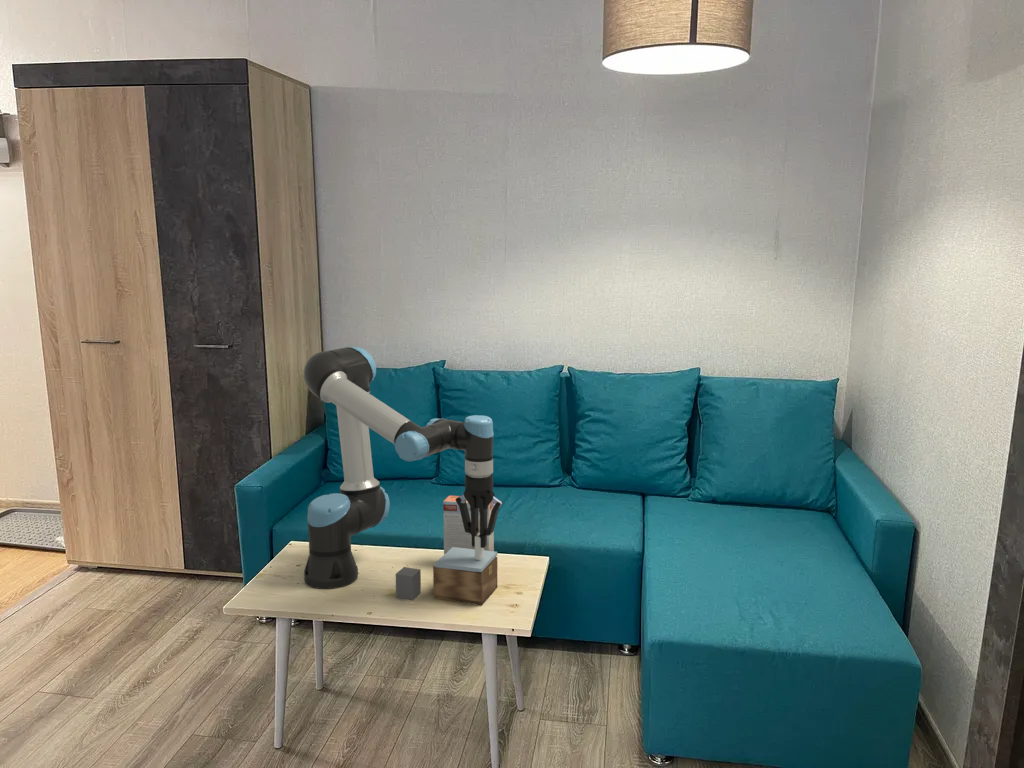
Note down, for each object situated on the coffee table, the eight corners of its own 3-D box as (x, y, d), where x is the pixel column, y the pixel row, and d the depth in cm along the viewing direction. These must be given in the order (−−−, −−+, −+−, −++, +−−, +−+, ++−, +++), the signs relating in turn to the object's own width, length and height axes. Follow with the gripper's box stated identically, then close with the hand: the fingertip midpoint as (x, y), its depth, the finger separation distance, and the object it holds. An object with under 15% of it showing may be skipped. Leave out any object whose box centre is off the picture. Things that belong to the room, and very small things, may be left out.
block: (396, 598, 216) (395, 573, 215) (404, 590, 221) (404, 566, 219) (412, 601, 214) (412, 576, 213) (420, 593, 219) (420, 569, 218)
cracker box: (494, 564, 239) (494, 497, 235) (489, 572, 233) (489, 504, 229) (449, 560, 242) (449, 494, 238) (443, 568, 236) (442, 500, 232)
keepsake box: (432, 597, 216) (432, 566, 215) (450, 580, 227) (450, 550, 226) (482, 605, 212) (482, 573, 210) (498, 587, 223) (498, 557, 221)
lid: (434, 567, 214) (434, 563, 214) (452, 550, 226) (452, 547, 226) (481, 572, 210) (481, 568, 210) (497, 555, 221) (497, 551, 221)
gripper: (450, 475, 211) (451, 559, 215) (497, 480, 207) (497, 566, 211) (461, 468, 218) (462, 549, 222) (506, 472, 214) (506, 556, 218)
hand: (479, 557), depth 216 cm, fingers closed
